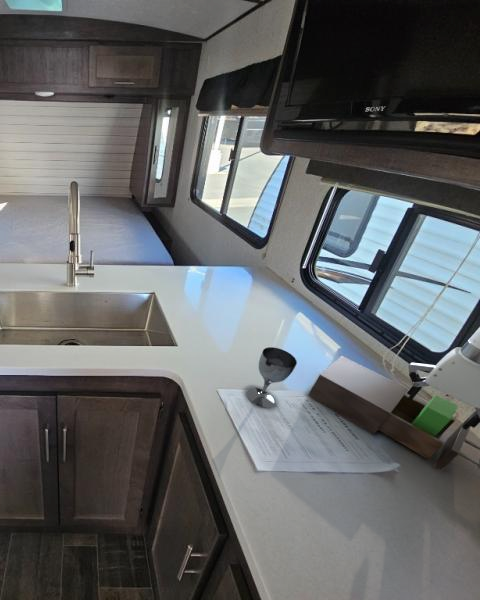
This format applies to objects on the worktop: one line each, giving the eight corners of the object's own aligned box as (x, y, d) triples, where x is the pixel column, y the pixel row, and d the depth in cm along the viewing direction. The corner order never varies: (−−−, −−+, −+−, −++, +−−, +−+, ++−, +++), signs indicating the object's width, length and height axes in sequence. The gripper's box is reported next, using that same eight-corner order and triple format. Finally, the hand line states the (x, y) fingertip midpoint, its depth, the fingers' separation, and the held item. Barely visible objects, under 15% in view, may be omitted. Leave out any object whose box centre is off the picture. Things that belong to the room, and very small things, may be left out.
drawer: (483, 456, 76) (502, 440, 73) (471, 488, 69) (492, 472, 66) (382, 402, 89) (395, 386, 86) (365, 425, 83) (377, 408, 79)
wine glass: (267, 413, 86) (288, 372, 78) (239, 394, 91) (256, 354, 83) (281, 400, 90) (302, 359, 82) (254, 383, 95) (271, 343, 88)
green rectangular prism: (432, 433, 80) (458, 405, 75) (424, 447, 76) (451, 419, 71) (411, 421, 83) (435, 394, 78) (403, 434, 79) (427, 407, 74)
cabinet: (392, 409, 89) (408, 388, 84) (373, 434, 81) (390, 413, 77) (329, 375, 99) (341, 355, 95) (307, 395, 92) (319, 374, 88)
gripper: (555, 374, 62) (492, 430, 71) (437, 329, 74) (395, 382, 83) (553, 389, 59) (486, 447, 67) (428, 339, 70) (386, 393, 79)
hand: (436, 411), depth 75 cm, fingers open, 9 cm apart
